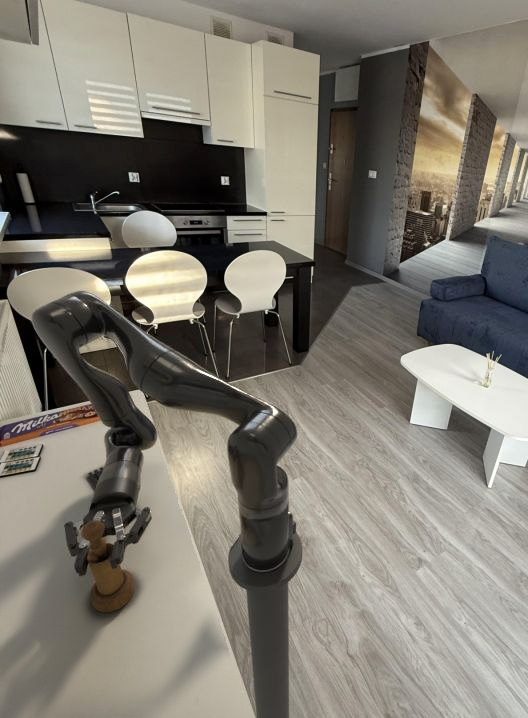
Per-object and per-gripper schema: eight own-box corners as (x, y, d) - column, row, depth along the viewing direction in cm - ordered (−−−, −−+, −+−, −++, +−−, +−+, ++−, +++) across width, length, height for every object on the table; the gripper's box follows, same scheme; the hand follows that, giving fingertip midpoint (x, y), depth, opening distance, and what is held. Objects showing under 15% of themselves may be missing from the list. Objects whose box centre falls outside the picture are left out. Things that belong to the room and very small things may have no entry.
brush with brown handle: (142, 510, 87) (142, 507, 86) (121, 522, 84) (120, 519, 83) (108, 466, 98) (107, 464, 97) (88, 475, 94) (87, 473, 94)
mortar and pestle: (143, 583, 73) (124, 515, 64) (114, 618, 67) (89, 548, 59) (115, 571, 74) (92, 503, 66) (83, 605, 69) (55, 534, 61)
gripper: (70, 482, 74) (37, 565, 59) (154, 469, 78) (143, 542, 64) (79, 511, 77) (50, 595, 63) (160, 496, 82) (150, 572, 67)
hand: (97, 568), depth 63 cm, fingers closed on mortar and pestle, 4 cm apart
